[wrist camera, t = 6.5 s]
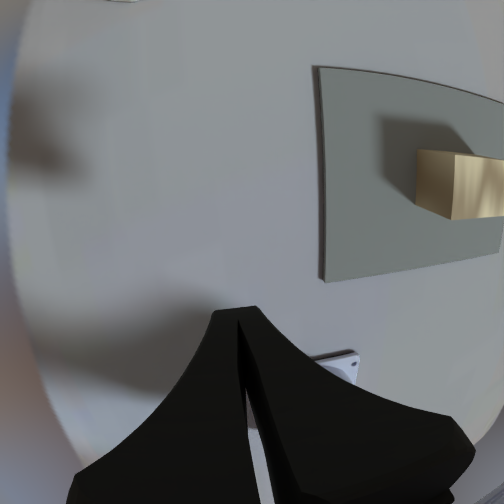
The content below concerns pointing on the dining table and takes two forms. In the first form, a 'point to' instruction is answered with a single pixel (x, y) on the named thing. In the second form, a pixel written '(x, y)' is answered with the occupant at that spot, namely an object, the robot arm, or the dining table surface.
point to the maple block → (459, 184)
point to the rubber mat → (397, 172)
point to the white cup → (125, 0)
